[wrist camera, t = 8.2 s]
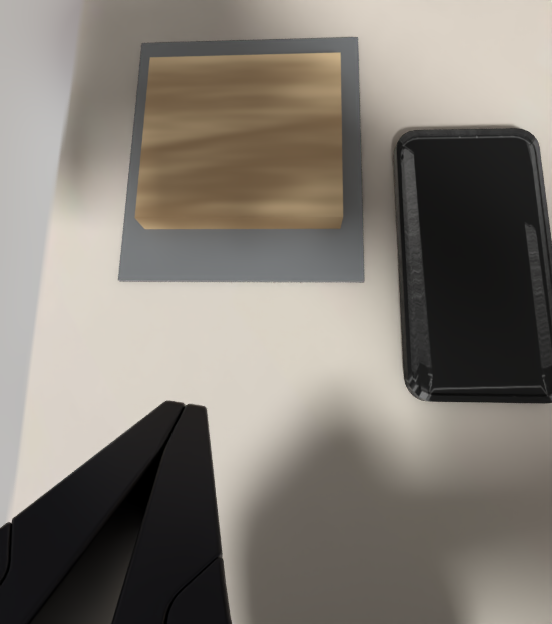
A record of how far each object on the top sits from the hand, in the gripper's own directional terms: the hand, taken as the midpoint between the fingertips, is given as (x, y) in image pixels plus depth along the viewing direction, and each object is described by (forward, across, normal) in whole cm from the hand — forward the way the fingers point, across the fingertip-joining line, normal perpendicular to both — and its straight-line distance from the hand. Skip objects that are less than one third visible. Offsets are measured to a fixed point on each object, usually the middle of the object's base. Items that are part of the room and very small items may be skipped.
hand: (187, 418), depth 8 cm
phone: (+16, -11, +1) cm, 20 cm away
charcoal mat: (+19, +2, -2) cm, 20 cm away
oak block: (+16, +2, +1) cm, 16 cm away
